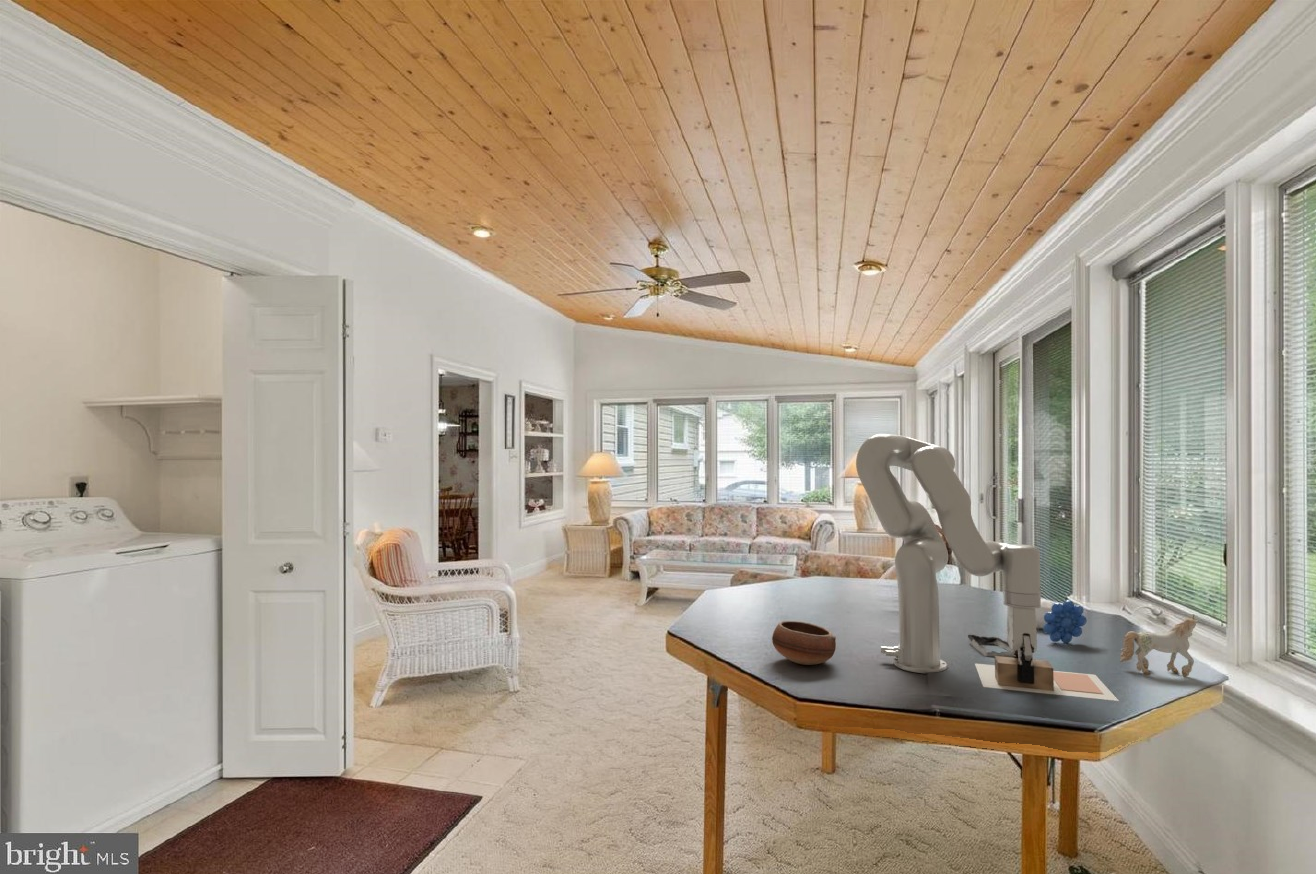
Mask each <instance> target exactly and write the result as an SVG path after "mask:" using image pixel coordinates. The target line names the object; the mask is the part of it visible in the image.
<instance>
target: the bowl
mask: <svg viewBox="0 0 1316 874" xmlns="http://www.w3.org/2000/svg"><path fill="white" fill-rule="evenodd" d="M771 639H772V641H771V642H772V645H773V647H774V649H775V650H776V651H777V652H778V653H779V654H780V655H781V656H782V657H784V658H786V659H788V661H791V662H793V663H795V664H799V665H804V666H815V665H819V664H822V663H825V662H827V661H829V660H830V659H831V658H832V657H833V656H834V654H835V652H836V646H837V645H836V644H837V643H836V636H835V635H833V633H832V632H831V631H830V630H828V629H827V628H825V627H822V626H820V625H817V624H814V623H810V622H804V621H795V620H784V621H780V622H779V623H778V624H777V625H776V627H775V628H774V631H773V633H772V637H771Z"/></svg>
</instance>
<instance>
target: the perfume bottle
mask: <svg viewBox="0 0 1316 874" xmlns="http://www.w3.org/2000/svg"><path fill="white" fill-rule="evenodd" d="M1053 605H1054V604H1053V603H1051V602H1050V601H1048V600H1047V599H1041V607H1040V608H1038V609H1036V629H1039V630H1043V627H1044V625H1045V624H1047V622H1045V620H1044V615H1045V614H1046V613H1048V612H1052V606H1053Z"/></svg>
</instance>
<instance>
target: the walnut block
mask: <svg viewBox="0 0 1316 874" xmlns="http://www.w3.org/2000/svg"><path fill="white" fill-rule="evenodd" d="M1017 664H1019V658H1013V656H994V665H995V678H996V680H997V683H998V685H1004V686H1013V687H1023V688H1032V689H1041V690H1050V691H1054V676H1053V671H1054V667H1053V666H1052V665H1051V662H1049V660H1043V659H1033V666H1034V684H1028V683H1019V682H1018V672H1017Z"/></svg>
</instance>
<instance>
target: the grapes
mask: <svg viewBox="0 0 1316 874" xmlns="http://www.w3.org/2000/svg"><path fill="white" fill-rule="evenodd" d="M1083 614H1084V608H1083V606H1082V605H1077V604H1076V605H1075V604H1074V601H1073V600H1066V601H1064V602H1063V604H1062V603H1060V602H1055V603H1054V604H1053V606H1052V612H1048V613H1046V614H1045V615H1044V620H1045V622H1047V624H1045V625H1044V627H1043V629H1042V630H1043V632H1044V633H1045V634H1047V635H1049V639H1050V641H1051V642H1054V643H1057V642H1059V641H1061V642H1062V643H1064V644H1068V643H1071V641H1072V640H1073V638H1078V637H1080V636H1082V634H1083V628H1082V627H1083V626H1085V625H1086V624H1087V621H1088V620H1087V617H1086V616H1085V615H1083Z"/></svg>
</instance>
